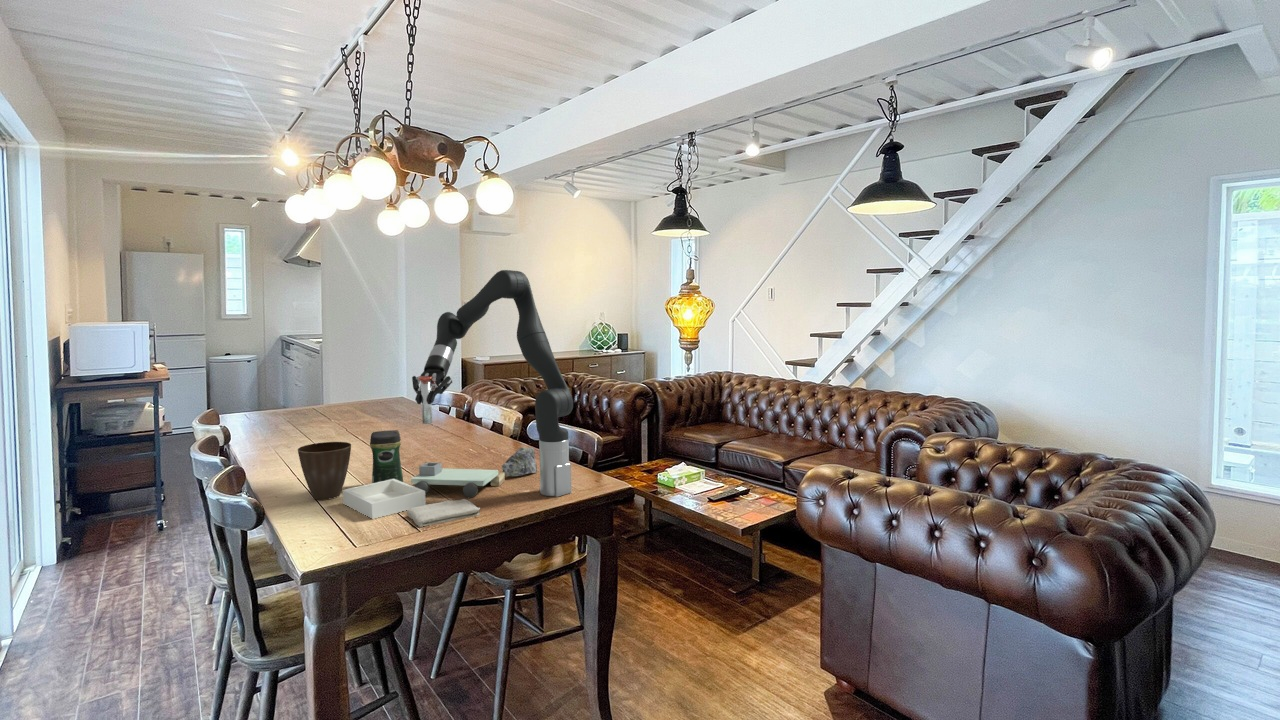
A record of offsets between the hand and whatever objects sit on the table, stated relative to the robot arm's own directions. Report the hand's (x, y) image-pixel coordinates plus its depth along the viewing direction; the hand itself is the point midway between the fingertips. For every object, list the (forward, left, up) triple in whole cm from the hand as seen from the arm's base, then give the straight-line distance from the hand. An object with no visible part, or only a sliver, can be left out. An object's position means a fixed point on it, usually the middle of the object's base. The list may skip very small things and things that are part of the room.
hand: (423, 402), depth 196 cm
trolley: (-6, -7, -29) cm, 30 cm away
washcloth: (-26, +9, -30) cm, 40 cm away
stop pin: (+1, -2, -7) cm, 7 cm away
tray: (-4, +16, -29) cm, 33 cm away
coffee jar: (+15, +6, -29) cm, 33 cm away
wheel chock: (-11, -20, -29) cm, 37 cm away
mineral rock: (-7, -31, -29) cm, 43 cm away
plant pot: (+18, +24, -29) cm, 42 cm away
